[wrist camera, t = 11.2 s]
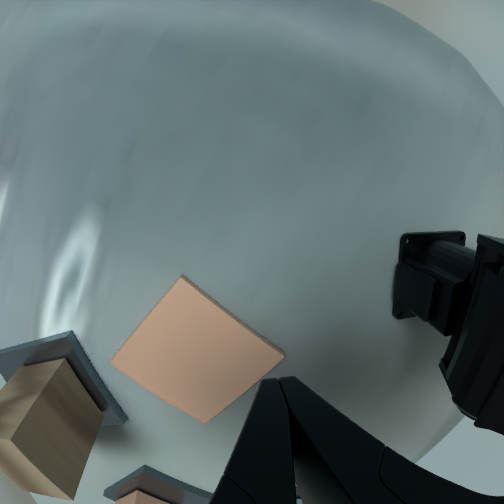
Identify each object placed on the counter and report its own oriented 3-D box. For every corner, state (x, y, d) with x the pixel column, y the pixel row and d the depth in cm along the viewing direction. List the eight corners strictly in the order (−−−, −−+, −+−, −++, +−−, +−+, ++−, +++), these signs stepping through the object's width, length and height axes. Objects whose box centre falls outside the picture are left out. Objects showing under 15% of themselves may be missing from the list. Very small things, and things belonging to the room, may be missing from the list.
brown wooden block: (65, 358, 18) (10, 439, 9) (104, 415, 20) (73, 500, 11) (19, 367, 18) (-33, 433, 9) (56, 419, 20) (21, 489, 11)
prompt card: (182, 274, 19) (180, 277, 18) (283, 352, 21) (284, 357, 20) (111, 358, 20) (109, 362, 19) (205, 418, 22) (204, 423, 21)
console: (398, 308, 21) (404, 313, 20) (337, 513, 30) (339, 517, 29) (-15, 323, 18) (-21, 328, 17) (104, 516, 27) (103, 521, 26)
